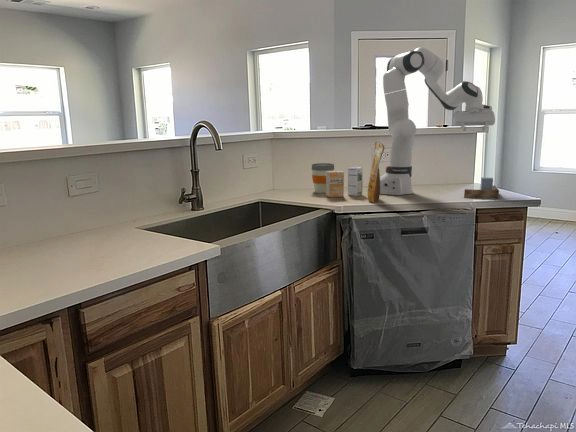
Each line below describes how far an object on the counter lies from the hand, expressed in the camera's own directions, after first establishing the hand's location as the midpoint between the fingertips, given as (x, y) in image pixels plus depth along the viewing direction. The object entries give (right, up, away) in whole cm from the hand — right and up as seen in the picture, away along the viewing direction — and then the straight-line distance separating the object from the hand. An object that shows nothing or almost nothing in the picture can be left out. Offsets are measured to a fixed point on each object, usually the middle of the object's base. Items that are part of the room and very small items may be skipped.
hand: (474, 130), depth 239 cm
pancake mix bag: (-55, -37, -15) cm, 68 cm away
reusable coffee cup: (-78, -32, +13) cm, 86 cm away
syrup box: (-63, -34, +1) cm, 71 cm away
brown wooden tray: (0, -35, -7) cm, 35 cm away
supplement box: (-74, -35, -4) cm, 82 cm away
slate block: (+1, -35, -11) cm, 37 cm away
